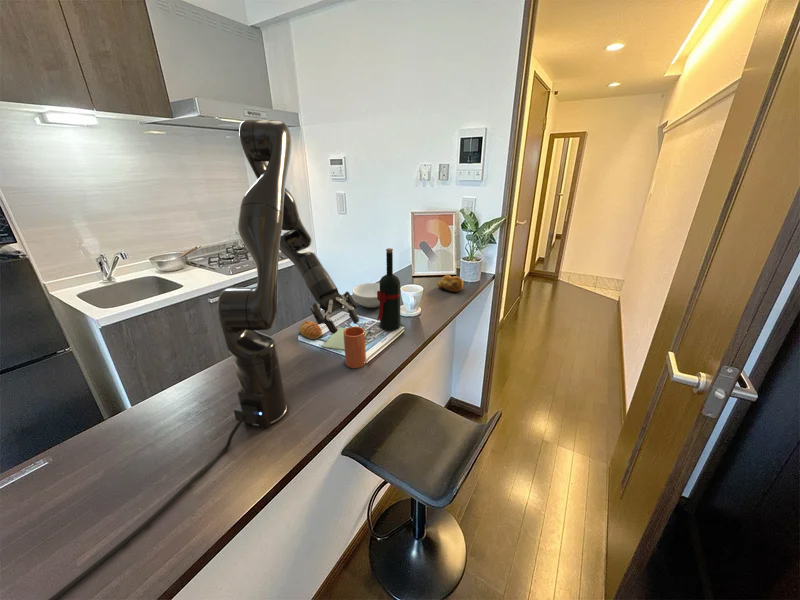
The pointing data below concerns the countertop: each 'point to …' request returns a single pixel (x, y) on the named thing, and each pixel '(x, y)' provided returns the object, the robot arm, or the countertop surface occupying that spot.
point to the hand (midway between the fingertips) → (346, 327)
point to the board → (338, 340)
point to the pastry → (310, 330)
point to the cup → (355, 347)
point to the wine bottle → (389, 297)
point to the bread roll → (451, 283)
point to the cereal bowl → (367, 295)
